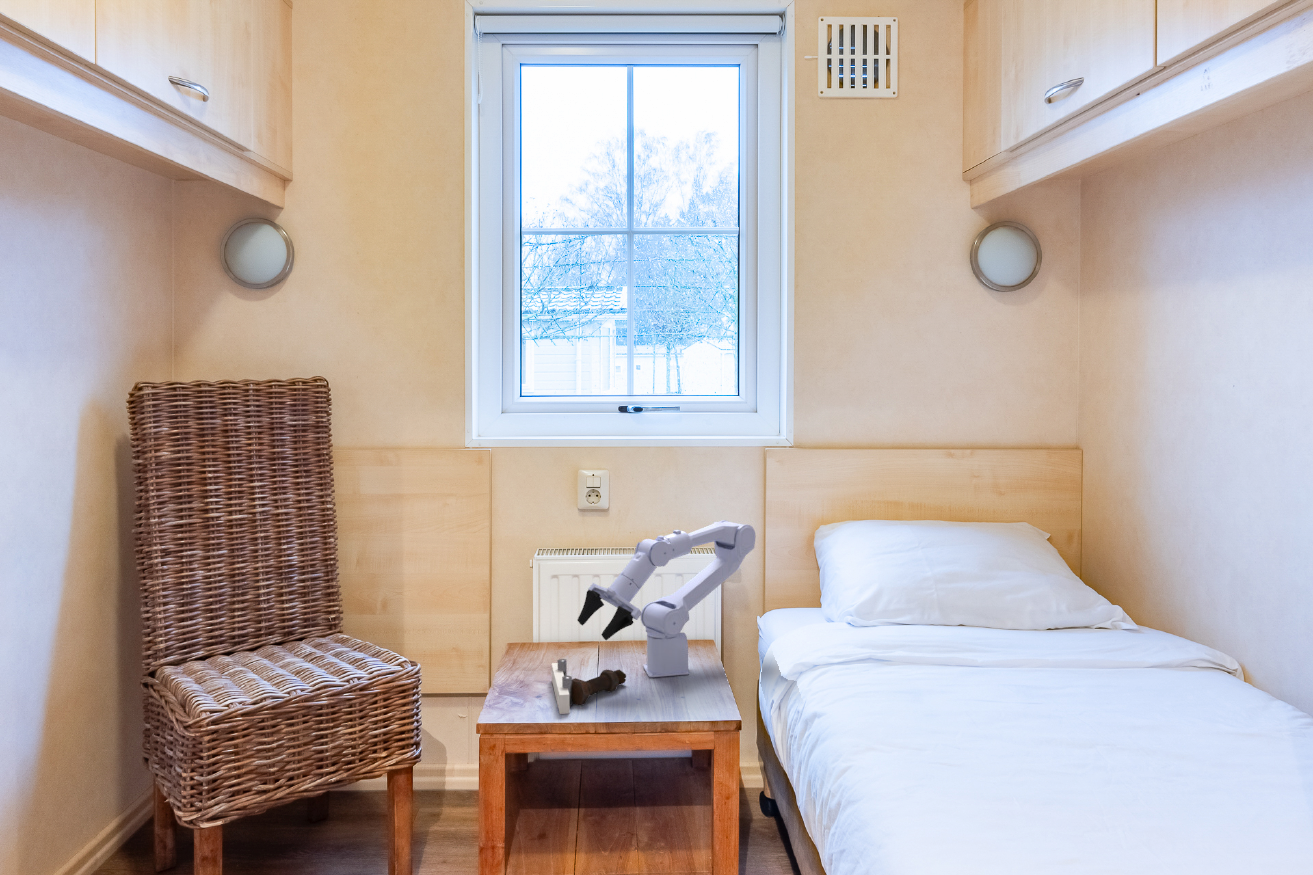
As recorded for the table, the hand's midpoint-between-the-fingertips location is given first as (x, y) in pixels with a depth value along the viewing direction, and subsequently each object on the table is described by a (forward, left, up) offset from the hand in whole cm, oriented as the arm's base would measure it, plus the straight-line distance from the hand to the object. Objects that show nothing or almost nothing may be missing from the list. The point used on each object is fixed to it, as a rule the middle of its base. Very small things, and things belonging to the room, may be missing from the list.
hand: (591, 630), depth 181 cm
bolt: (-1, +3, -14) cm, 14 cm away
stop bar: (+7, +2, -13) cm, 15 cm away
